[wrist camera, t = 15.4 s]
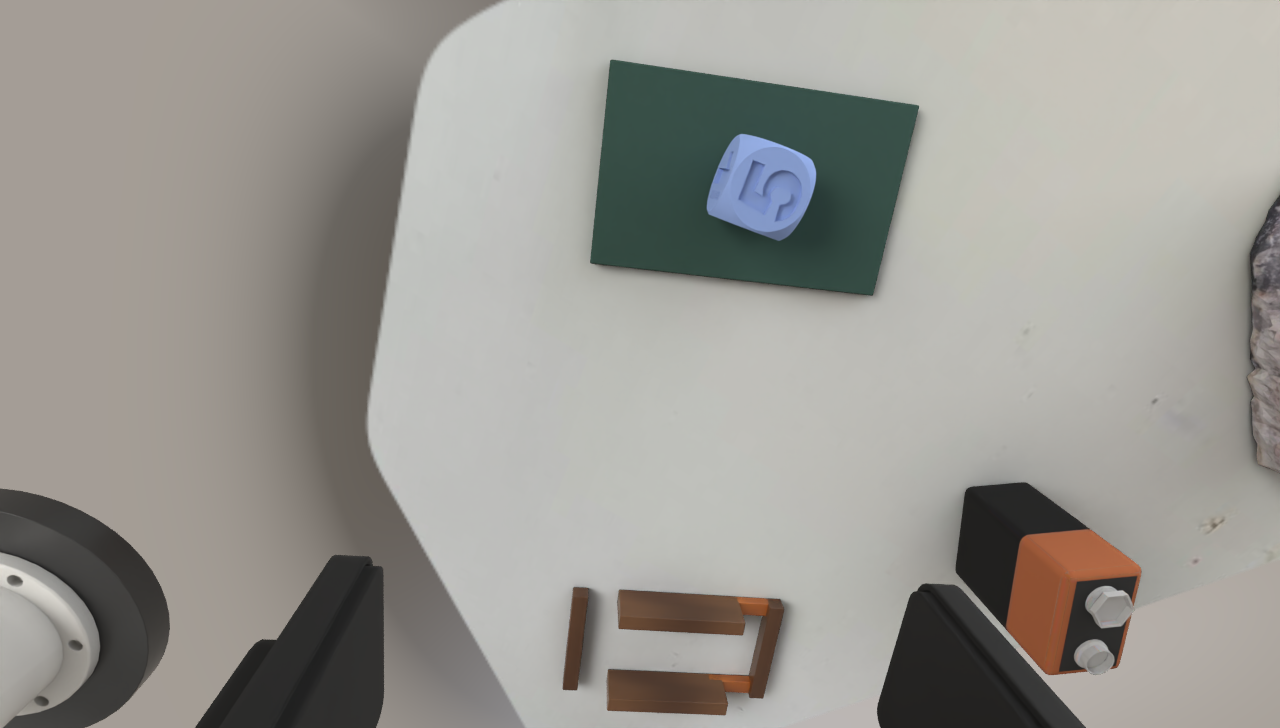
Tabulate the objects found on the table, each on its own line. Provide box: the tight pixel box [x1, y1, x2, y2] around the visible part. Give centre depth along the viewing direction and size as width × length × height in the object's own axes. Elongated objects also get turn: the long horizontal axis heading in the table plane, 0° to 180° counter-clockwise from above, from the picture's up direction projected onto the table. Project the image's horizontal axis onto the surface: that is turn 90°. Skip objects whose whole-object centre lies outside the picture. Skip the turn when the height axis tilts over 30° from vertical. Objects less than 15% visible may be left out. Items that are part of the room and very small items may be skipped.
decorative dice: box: [707, 134, 816, 241], centre depth 30 cm, size 4×4×4 cm
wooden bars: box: [563, 587, 784, 715], centre depth 40 cm, size 14×8×2 cm, turn 83°
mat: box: [590, 60, 919, 295], centre depth 32 cm, size 16×10×1 cm, turn 83°
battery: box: [956, 483, 1141, 675], centre depth 36 cm, size 4×7×10 cm, turn 4°
